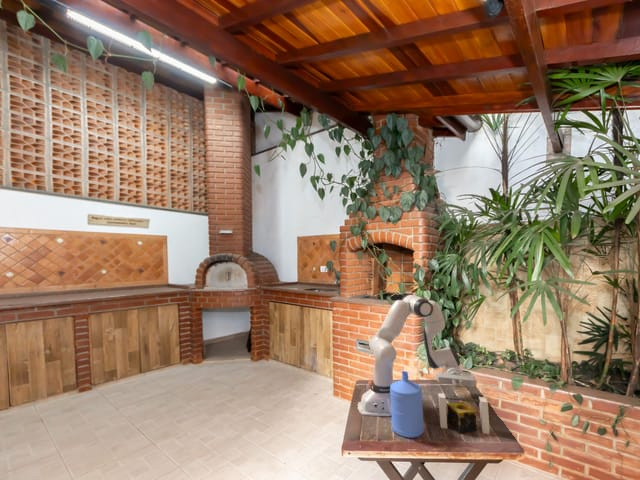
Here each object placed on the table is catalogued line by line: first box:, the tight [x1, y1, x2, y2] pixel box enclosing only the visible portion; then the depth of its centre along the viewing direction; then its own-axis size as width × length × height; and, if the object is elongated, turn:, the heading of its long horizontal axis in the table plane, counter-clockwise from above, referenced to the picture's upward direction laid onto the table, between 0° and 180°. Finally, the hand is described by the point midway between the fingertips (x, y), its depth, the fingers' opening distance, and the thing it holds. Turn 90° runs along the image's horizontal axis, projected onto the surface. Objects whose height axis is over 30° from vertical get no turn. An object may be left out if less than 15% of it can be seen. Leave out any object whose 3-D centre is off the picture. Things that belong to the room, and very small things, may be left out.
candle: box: [446, 401, 478, 434], centre depth 152 cm, size 10×10×10 cm
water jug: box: [390, 370, 425, 439], centre depth 152 cm, size 16×16×28 cm
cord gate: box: [438, 392, 490, 435], centre depth 151 cm, size 22×5×15 cm, turn 73°
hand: (457, 385), depth 163 cm, fingers closed
